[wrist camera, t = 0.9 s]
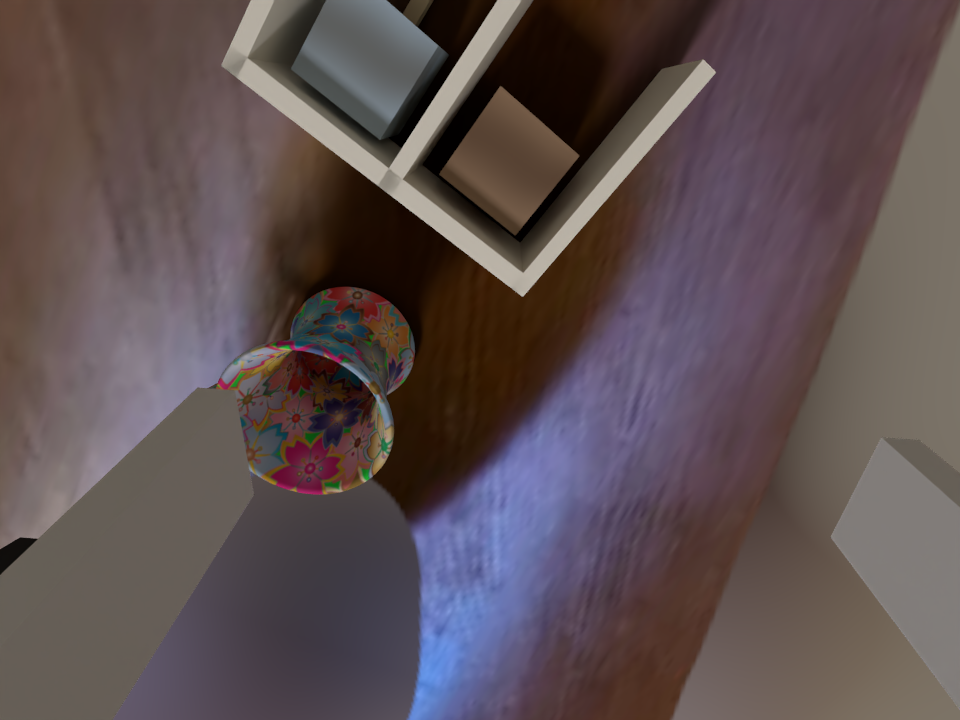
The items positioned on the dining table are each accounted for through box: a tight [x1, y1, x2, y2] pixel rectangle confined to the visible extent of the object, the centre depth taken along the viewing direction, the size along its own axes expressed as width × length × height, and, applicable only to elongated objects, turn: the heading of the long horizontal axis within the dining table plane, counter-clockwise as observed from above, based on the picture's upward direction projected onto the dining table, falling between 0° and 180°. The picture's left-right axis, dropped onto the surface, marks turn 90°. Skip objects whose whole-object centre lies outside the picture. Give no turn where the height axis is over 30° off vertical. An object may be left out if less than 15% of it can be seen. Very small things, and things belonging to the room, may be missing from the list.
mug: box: [208, 287, 415, 494], centre depth 31 cm, size 12×9×11 cm
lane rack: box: [221, 0, 716, 297], centre depth 25 cm, size 13×17×6 cm
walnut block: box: [439, 86, 579, 235], centre depth 28 cm, size 5×5×5 cm
